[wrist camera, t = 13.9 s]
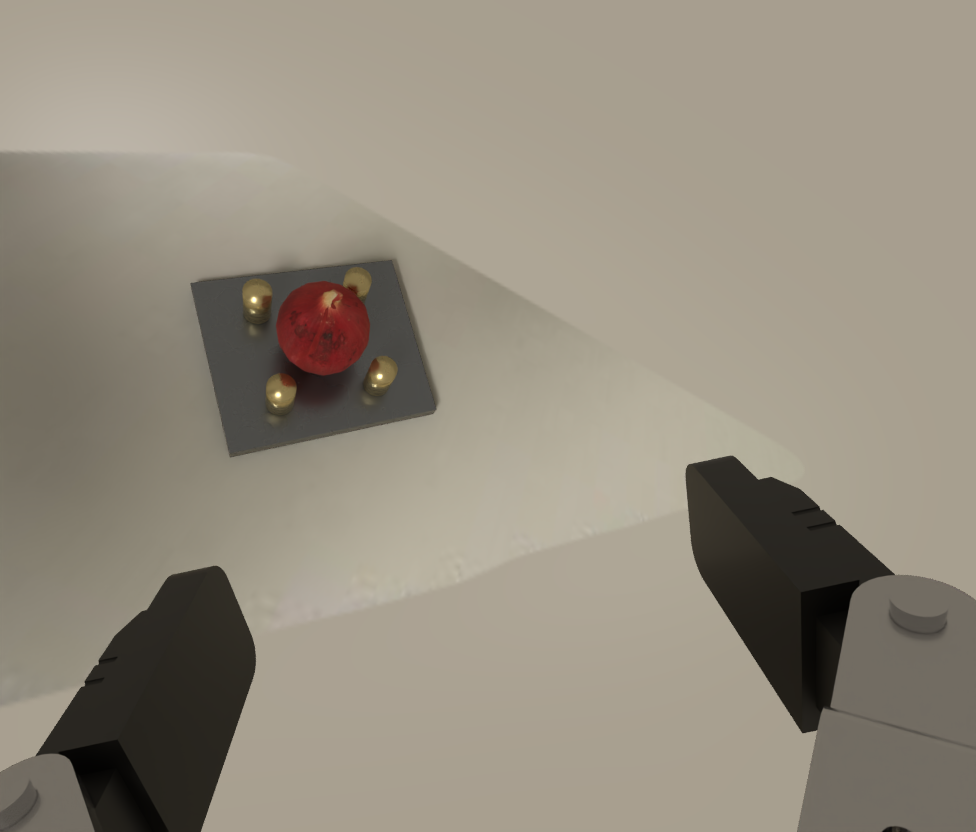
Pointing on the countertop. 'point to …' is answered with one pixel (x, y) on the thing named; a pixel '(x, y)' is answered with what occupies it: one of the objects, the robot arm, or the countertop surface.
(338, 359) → the onion
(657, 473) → the countertop surface
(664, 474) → the countertop surface
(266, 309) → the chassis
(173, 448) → the countertop surface
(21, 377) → the countertop surface
